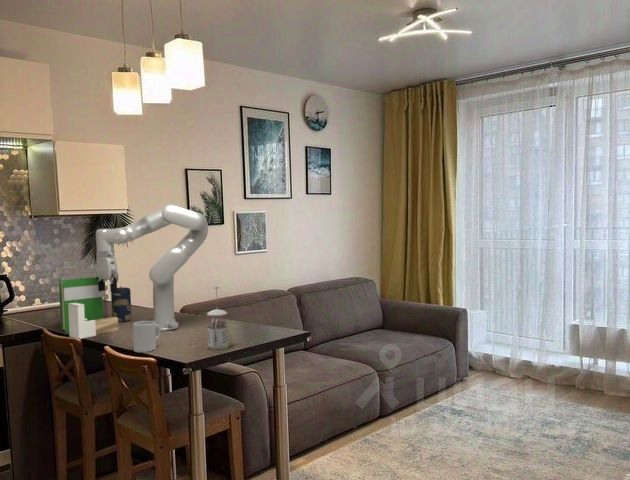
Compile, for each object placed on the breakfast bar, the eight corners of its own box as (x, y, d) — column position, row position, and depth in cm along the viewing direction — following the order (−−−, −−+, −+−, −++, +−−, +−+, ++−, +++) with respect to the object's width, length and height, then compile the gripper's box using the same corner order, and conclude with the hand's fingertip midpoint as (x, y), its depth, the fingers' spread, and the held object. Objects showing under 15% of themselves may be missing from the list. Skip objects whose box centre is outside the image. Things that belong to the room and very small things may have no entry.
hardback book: (65, 332, 253) (63, 281, 252) (60, 330, 258) (58, 280, 257) (103, 327, 264) (102, 278, 263) (98, 325, 270) (96, 277, 269)
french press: (232, 343, 224) (230, 283, 223) (226, 351, 212) (225, 287, 211) (208, 344, 224) (207, 284, 223) (201, 351, 213) (200, 287, 211)
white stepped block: (95, 335, 245) (94, 302, 244) (79, 339, 239) (77, 305, 238) (86, 333, 250) (85, 301, 249) (69, 336, 244) (68, 303, 243)
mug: (144, 353, 211) (143, 325, 210) (129, 351, 215) (128, 323, 214) (167, 346, 221) (166, 320, 221) (152, 344, 225) (151, 318, 225)
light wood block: (118, 330, 256) (117, 315, 256) (86, 336, 244) (85, 320, 243) (113, 329, 259) (113, 314, 258) (81, 335, 246) (81, 319, 246)
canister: (134, 319, 283) (133, 285, 283) (126, 322, 274) (125, 287, 273) (117, 319, 284) (116, 285, 284) (108, 322, 275) (107, 287, 274)
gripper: (123, 254, 251) (125, 291, 252) (102, 254, 261) (104, 289, 262) (109, 256, 245) (111, 293, 246) (88, 255, 255) (90, 291, 256)
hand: (107, 291), depth 254 cm, fingers open, 9 cm apart
